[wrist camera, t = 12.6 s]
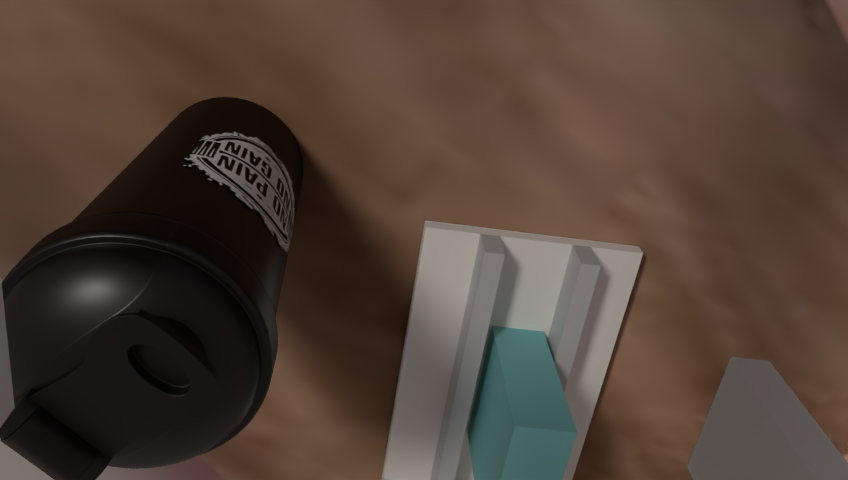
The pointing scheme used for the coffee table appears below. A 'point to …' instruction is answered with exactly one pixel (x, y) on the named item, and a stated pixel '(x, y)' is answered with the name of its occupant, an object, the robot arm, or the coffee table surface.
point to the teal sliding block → (520, 411)
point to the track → (505, 307)
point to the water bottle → (156, 300)
